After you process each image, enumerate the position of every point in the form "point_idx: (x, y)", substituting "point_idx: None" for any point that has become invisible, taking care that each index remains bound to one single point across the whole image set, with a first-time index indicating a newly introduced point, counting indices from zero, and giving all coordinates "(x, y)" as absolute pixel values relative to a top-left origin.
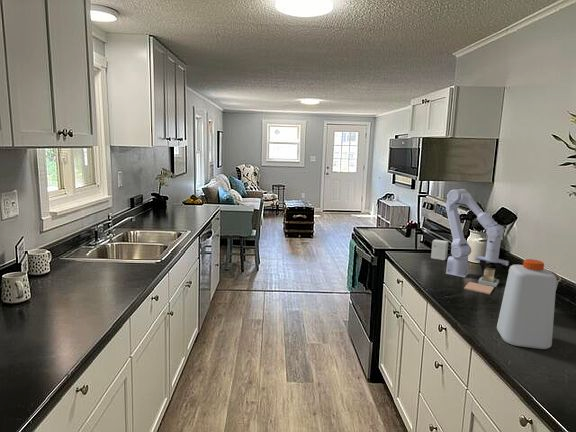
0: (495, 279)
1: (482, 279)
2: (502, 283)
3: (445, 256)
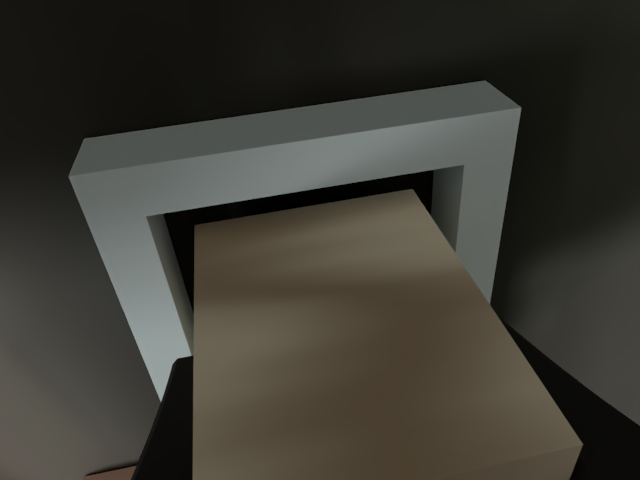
0: (435, 162)
1: (177, 288)
2: (555, 67)
3: None
